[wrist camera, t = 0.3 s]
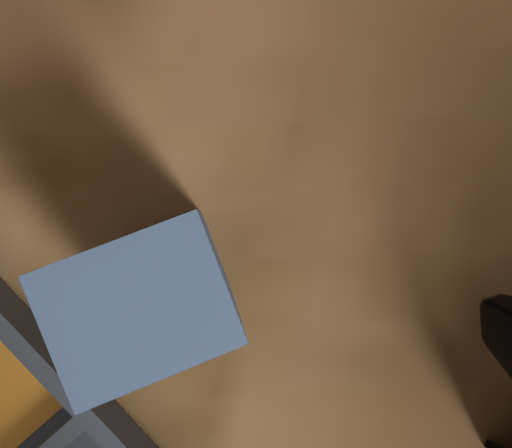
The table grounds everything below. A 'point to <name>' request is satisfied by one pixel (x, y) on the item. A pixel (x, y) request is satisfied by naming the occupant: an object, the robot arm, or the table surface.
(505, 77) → the table surface
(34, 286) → the panel block
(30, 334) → the rack
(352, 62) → the table surface
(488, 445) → the speaker
